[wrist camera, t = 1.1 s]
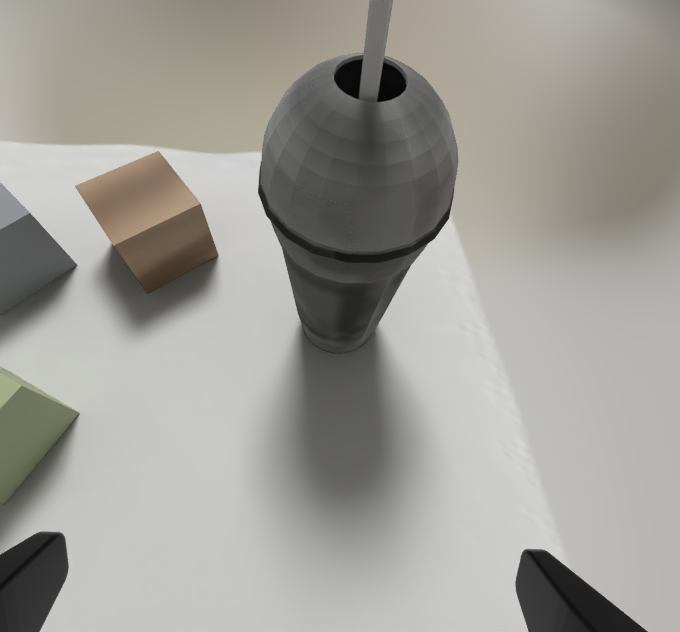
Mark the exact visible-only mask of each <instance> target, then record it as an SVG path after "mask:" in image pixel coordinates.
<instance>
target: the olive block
mask: <svg viewBox="0 0 680 632" xmlns="http://www.w3.org/2000/svg"><path fill="white" fill-rule="evenodd" d="M78 415H79V412H77V411H75V410H74V409H72V408H70V407H69V406H67V405H65V404H64V403H62V402H60V401H59V400H57V399H55V398H53V397H52V396H50V395H48V394H47V393H45V392H43V391H42V390H40V389H38V388H37V387H35V386H33V385H32V384H30V383H28V382H27V381H25V380H23V379H21V378H20V377H18V376H16V375H15V374H13V373H11V372H10V371H8V370H6V369H4V368H2V367H0V504H5V503H6V502H7V500H8V499H9V498H10V497H11V496H12V494H13V493H14V492H15V491H16V490H17V488H18V487H19V486H20V485H21V484H22V482H23V481H24V480H25V479H26V477H27V476H28V475H29V474H30V473H31V471H32V470H33V469H34V468H35V467H36V465H37V464H38V463H39V462H40V461H41V459H42V458H43V457H44V456H45V455H46V453H47V452H48V451H49V450H50V449H51V447H52V446H53V445H54V444H55V442H56V441H57V440H58V439H59V438H60V436H61V435H62V434H63V433H64V432H65V430H66V429H67V428H68V427H69V426H70V424H71V423H72V422H73V421H74V420H75V418H76V417H77V416H78Z"/></svg>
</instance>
